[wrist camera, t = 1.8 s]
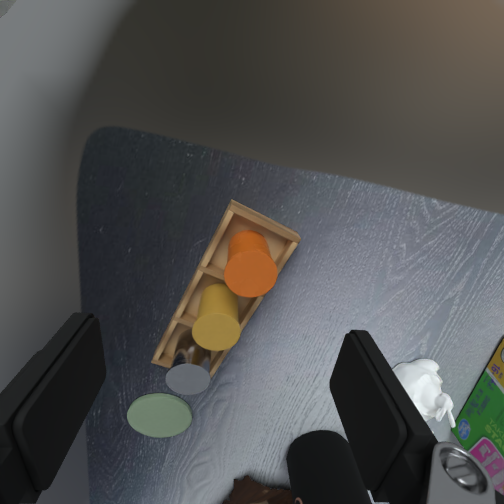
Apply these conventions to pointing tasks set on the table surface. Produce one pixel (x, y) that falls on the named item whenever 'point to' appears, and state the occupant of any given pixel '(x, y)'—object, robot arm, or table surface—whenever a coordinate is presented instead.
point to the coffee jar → (324, 470)
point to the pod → (249, 265)
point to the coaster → (159, 415)
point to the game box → (486, 420)
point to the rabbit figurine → (425, 389)
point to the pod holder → (213, 272)
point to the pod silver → (189, 366)
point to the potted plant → (257, 493)
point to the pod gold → (217, 318)
